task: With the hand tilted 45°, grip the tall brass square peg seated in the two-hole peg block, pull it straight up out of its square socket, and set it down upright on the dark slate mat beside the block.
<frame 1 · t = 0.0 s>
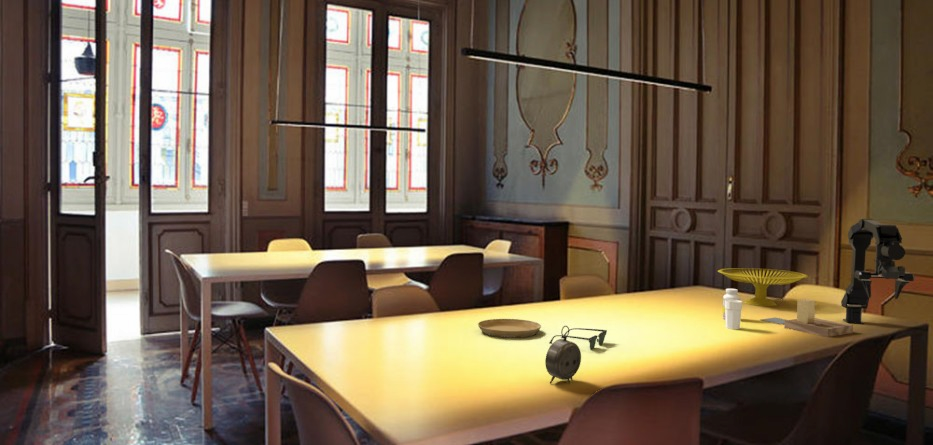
hand: (882, 298, 254), 15 cm above the table, tool pointing down, fingers open, 9 cm apart
alarm clock: (564, 382, 190), on the table
two-hole peg block: (805, 329, 266), on the table
slatted pedestal fruit bowl: (760, 303, 327), on the table
sunglasses: (576, 345, 238), on the table
slate mat: (778, 321, 282), on the table
plant saucer: (509, 333, 255), on the table
cup: (732, 328, 267), on the table
supplement bottle: (730, 319, 286), on the table
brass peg: (805, 314, 265), in the two-hole peg block
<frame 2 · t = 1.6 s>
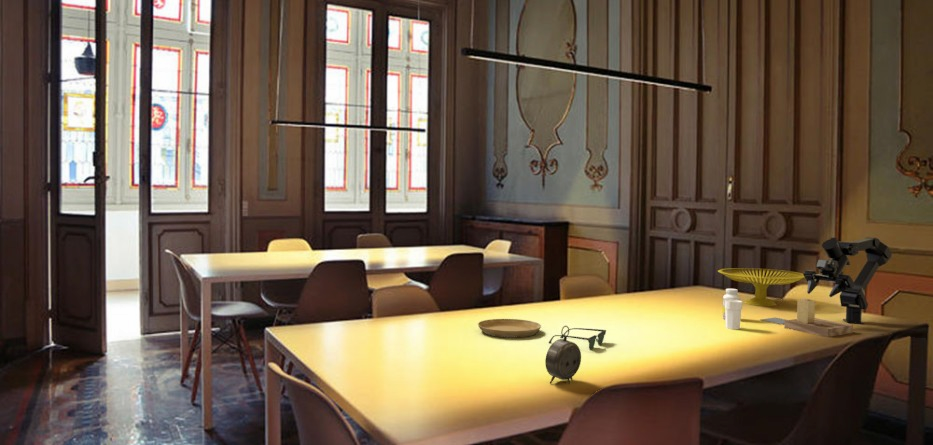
hand: (818, 294, 269), 13 cm above the table, tool tilted 45°, fingers open, 9 cm apart
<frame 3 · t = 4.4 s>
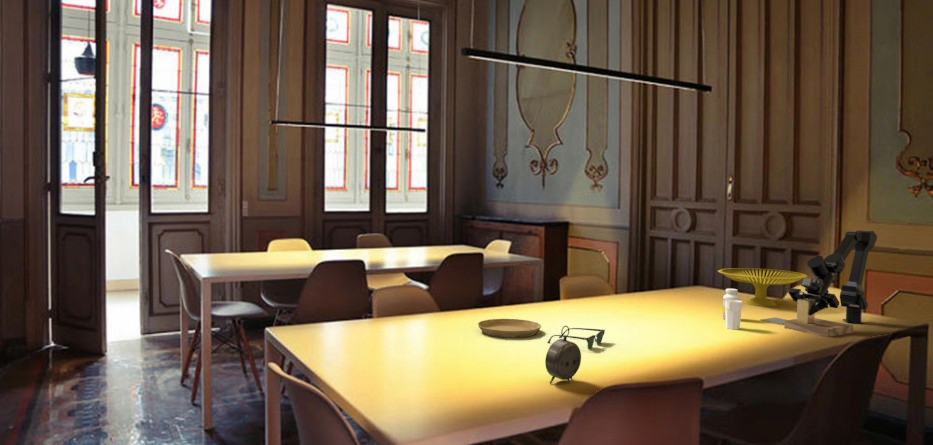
hand: (803, 313, 265), 7 cm above the table, tool tilted 45°, fingers closed on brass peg, 4 cm apart
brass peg: (805, 314, 265), in the two-hole peg block, touching gripper
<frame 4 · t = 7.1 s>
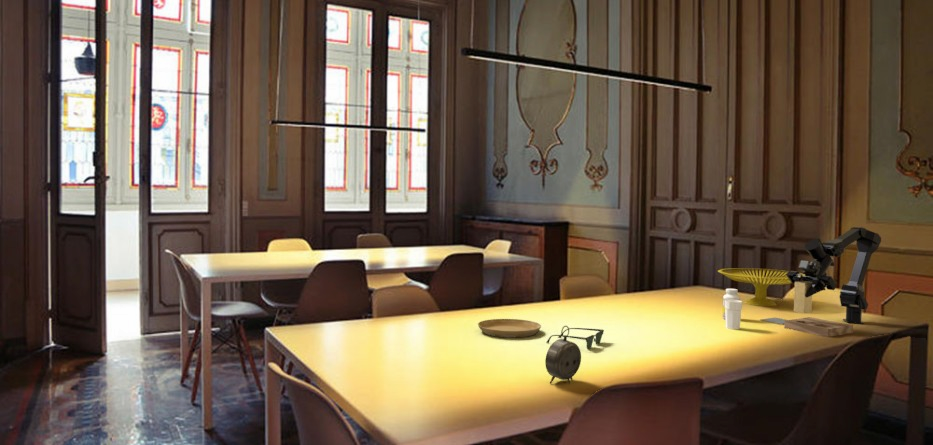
hand: (800, 295, 266), 13 cm above the table, tool tilted 45°, fingers closed on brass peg, 4 cm apart
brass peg: (803, 297, 266), point 13 cm above the table, touching gripper
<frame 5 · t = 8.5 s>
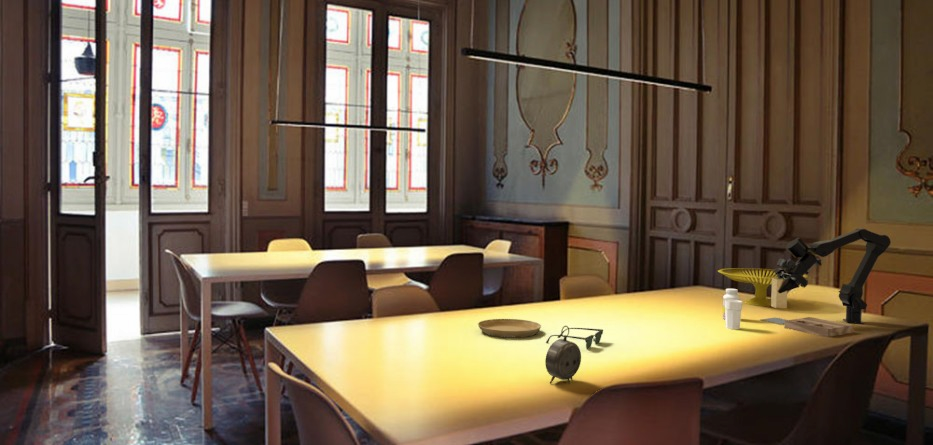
hand: (776, 291, 281), 13 cm above the table, tool tilted 45°, fingers closed on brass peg, 4 cm apart
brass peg: (779, 293, 281), point 12 cm above the table, touching gripper
when the fingers open (8 cm above the table, at t = 9.7 s): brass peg drops 1 cm, resting on slate mat.
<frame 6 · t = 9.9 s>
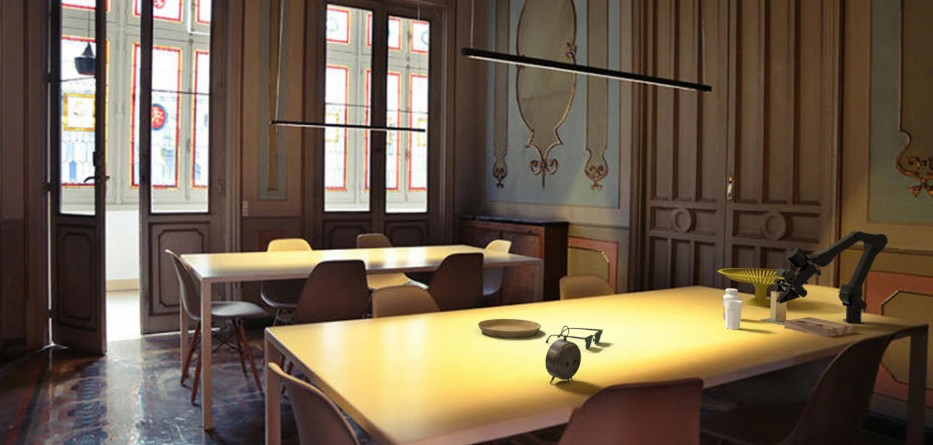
hand: (775, 301, 281), 9 cm above the table, tool tilted 45°, fingers open, 7 cm apart
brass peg: (778, 306, 282), on the slate mat
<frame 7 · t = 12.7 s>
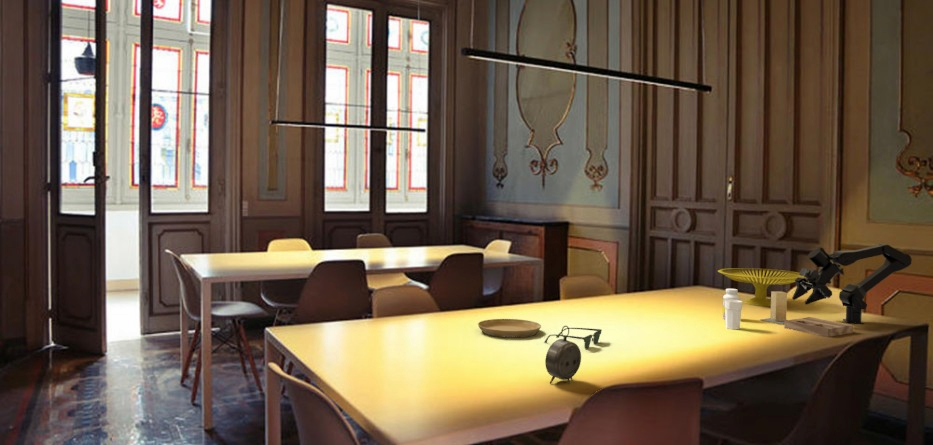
hand: (799, 301, 281), 9 cm above the table, tool tilted 45°, fingers open, 9 cm apart
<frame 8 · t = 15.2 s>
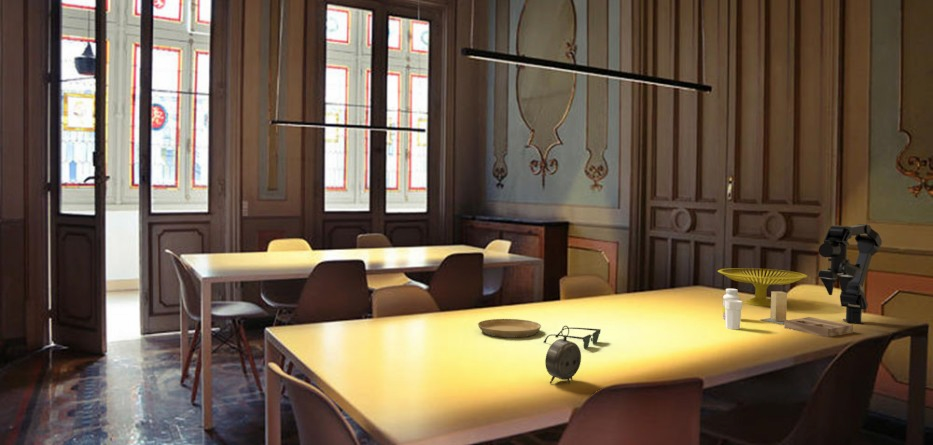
hand: (837, 294, 274), 13 cm above the table, tool pointing down, fingers open, 9 cm apart
at the end: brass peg inside the target area on the slate mat (0.0 cm from its centre), point 6.4 cm above the slate mat's base; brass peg tilted 0°; the gripper is holding nothing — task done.
